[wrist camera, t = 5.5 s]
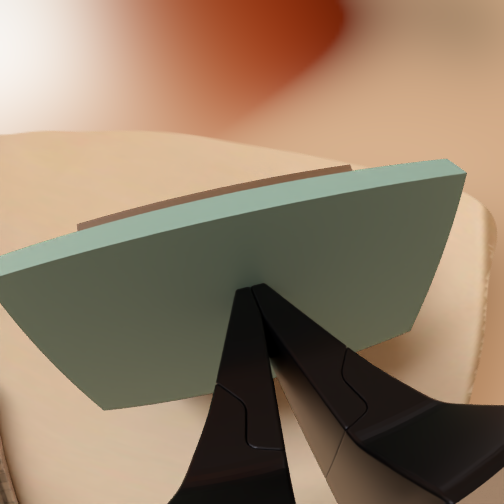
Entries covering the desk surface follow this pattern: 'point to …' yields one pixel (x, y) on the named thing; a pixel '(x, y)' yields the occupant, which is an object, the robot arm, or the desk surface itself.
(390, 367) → the desk surface
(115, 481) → the desk surface
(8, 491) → the packaged product
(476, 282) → the desk surface
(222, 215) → the lid
